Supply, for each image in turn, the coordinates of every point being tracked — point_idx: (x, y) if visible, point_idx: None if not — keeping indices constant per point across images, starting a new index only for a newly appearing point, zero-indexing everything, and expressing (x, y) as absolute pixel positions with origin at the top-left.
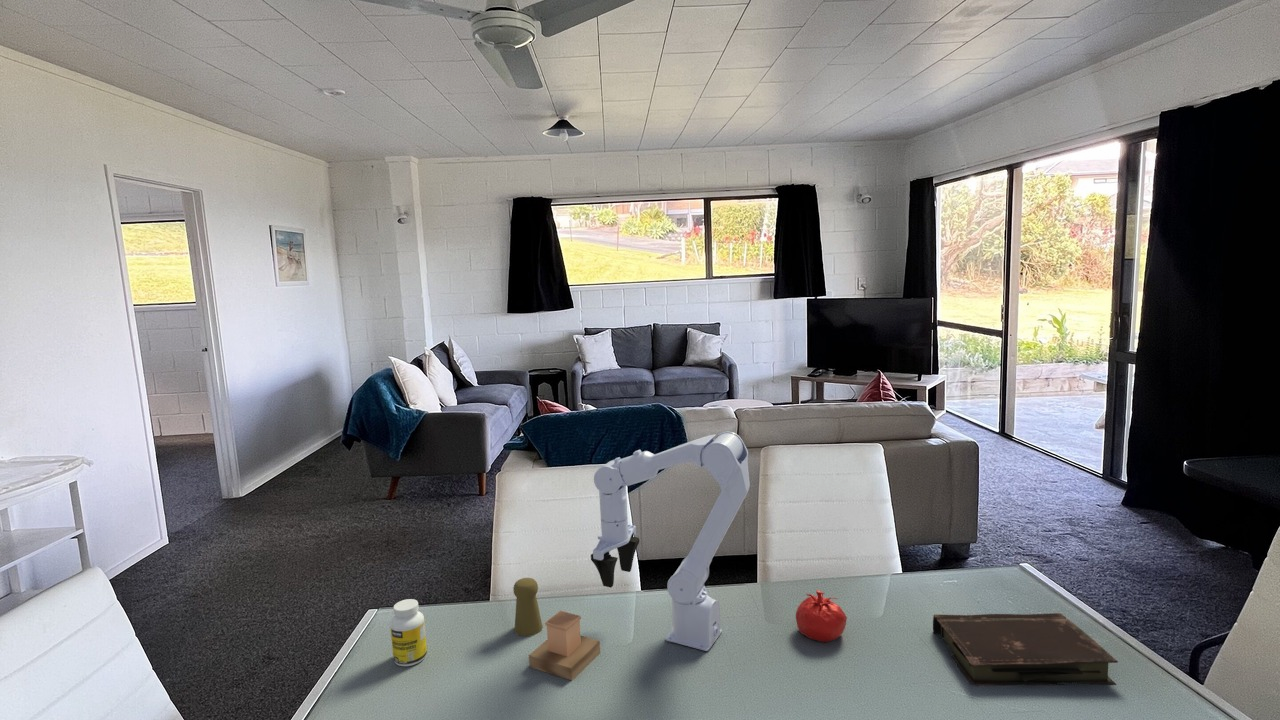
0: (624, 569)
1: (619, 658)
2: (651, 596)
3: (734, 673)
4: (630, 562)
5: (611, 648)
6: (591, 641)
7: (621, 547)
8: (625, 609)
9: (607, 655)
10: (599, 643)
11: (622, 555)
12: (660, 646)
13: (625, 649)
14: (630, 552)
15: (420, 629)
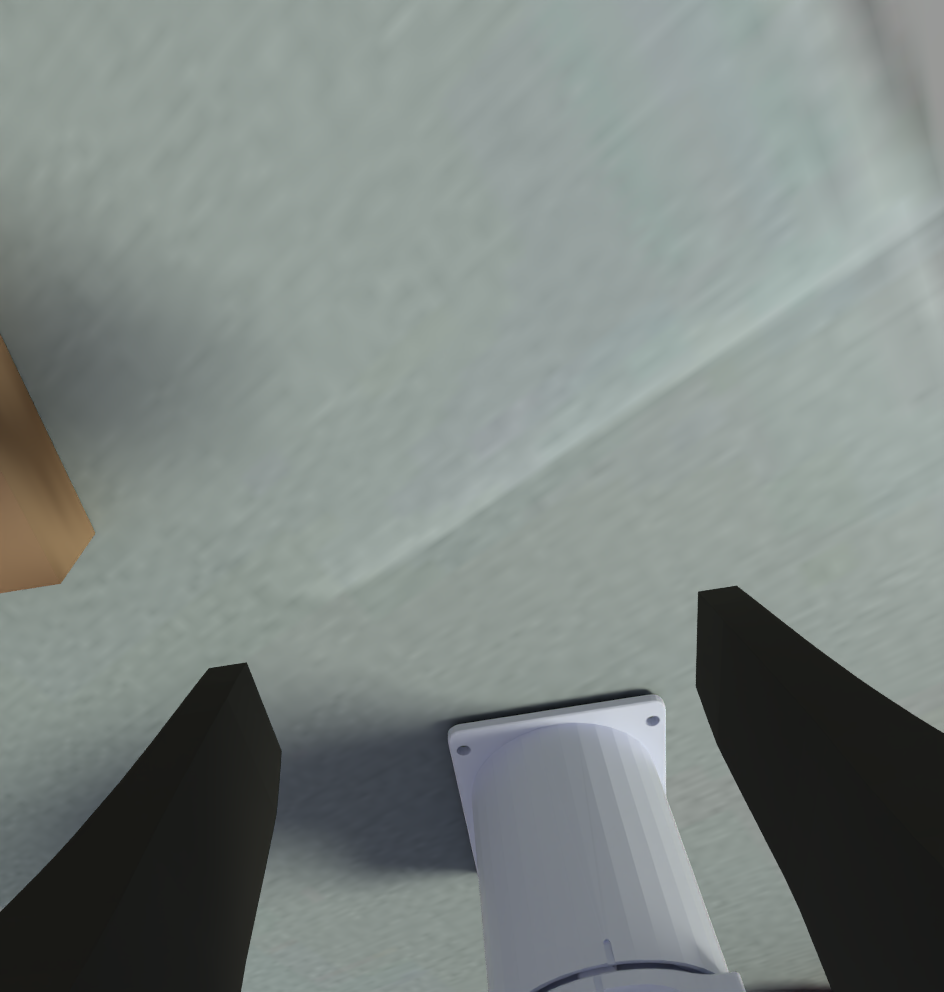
0: (706, 643)
1: (147, 646)
2: (906, 368)
3: (416, 975)
4: (758, 812)
5: (182, 556)
6: (3, 547)
7: (919, 948)
8: (644, 321)
9: (111, 582)
10: (64, 572)
11: (816, 796)
12: (391, 728)
13: (238, 620)
14: (845, 987)
15: None
